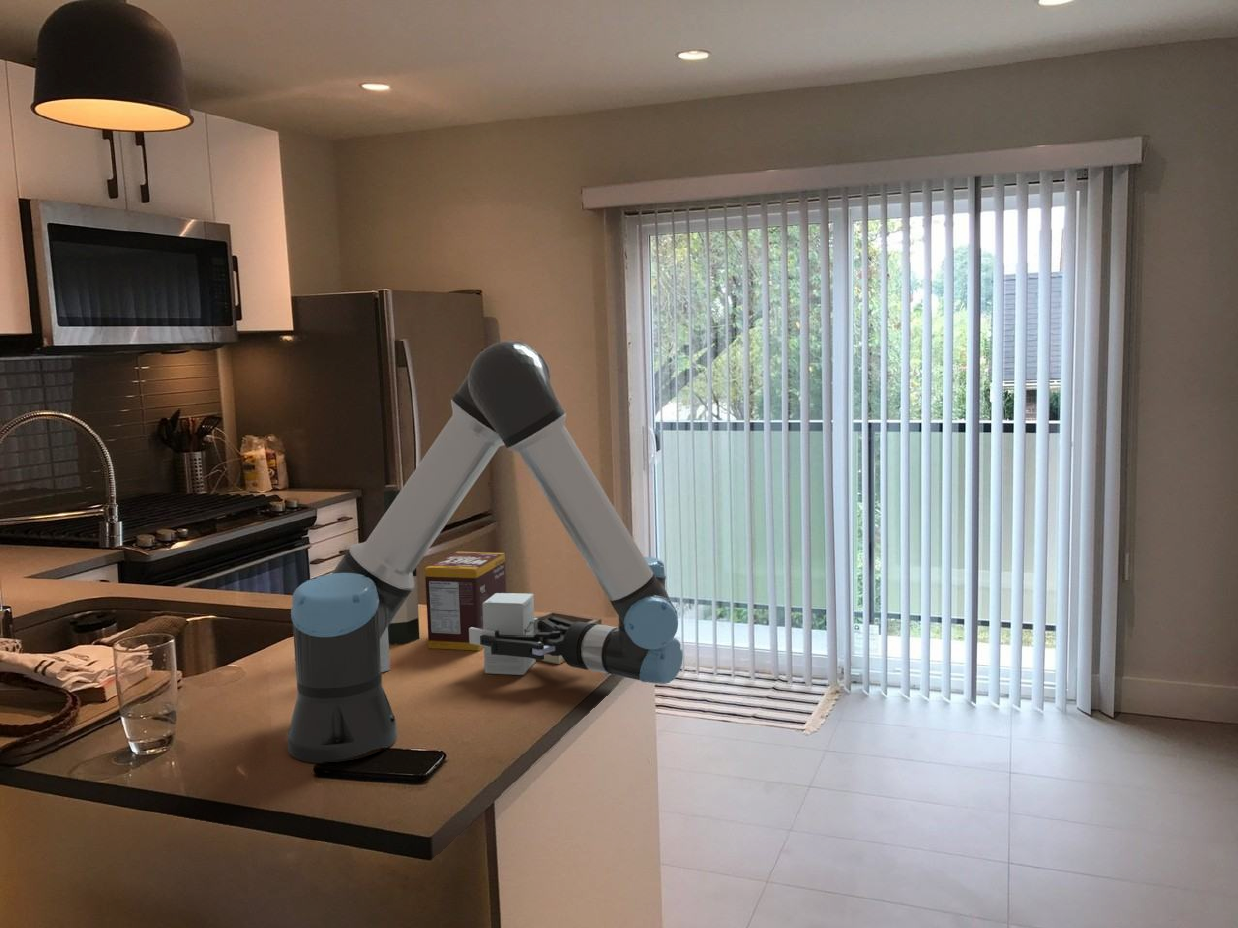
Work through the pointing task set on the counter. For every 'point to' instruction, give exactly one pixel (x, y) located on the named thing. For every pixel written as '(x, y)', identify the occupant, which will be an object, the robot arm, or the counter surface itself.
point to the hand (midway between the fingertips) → (490, 628)
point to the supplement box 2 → (508, 629)
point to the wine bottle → (407, 617)
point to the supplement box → (461, 596)
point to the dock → (570, 618)
